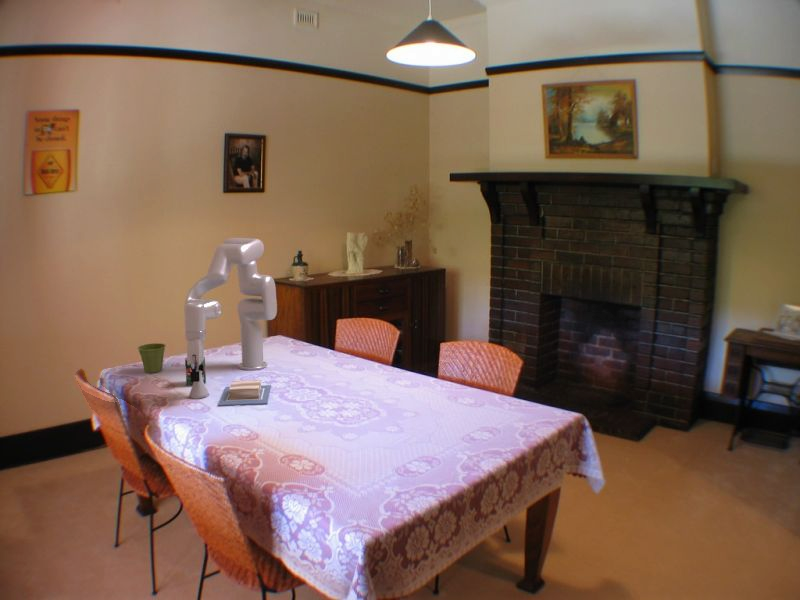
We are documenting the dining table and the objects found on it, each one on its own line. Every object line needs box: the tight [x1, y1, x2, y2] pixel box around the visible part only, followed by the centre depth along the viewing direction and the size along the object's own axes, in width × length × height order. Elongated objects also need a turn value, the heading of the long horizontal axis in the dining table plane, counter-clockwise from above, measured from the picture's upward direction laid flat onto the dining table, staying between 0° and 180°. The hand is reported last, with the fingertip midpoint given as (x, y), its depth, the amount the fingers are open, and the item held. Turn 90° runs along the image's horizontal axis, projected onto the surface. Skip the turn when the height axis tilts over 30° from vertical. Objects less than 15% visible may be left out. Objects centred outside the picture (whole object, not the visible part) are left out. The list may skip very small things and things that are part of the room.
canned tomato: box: [184, 356, 207, 387], centre depth 267 cm, size 8×8×11 cm
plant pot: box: [136, 342, 167, 374], centre depth 285 cm, size 12×12×11 cm
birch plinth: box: [229, 379, 262, 400], centre depth 252 cm, size 11×11×4 cm
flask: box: [188, 371, 210, 400], centre depth 251 cm, size 7×7×10 cm
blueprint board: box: [217, 384, 272, 407], centre depth 253 cm, size 22×18×1 cm
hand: (197, 378), depth 250 cm, fingers open, 9 cm apart
